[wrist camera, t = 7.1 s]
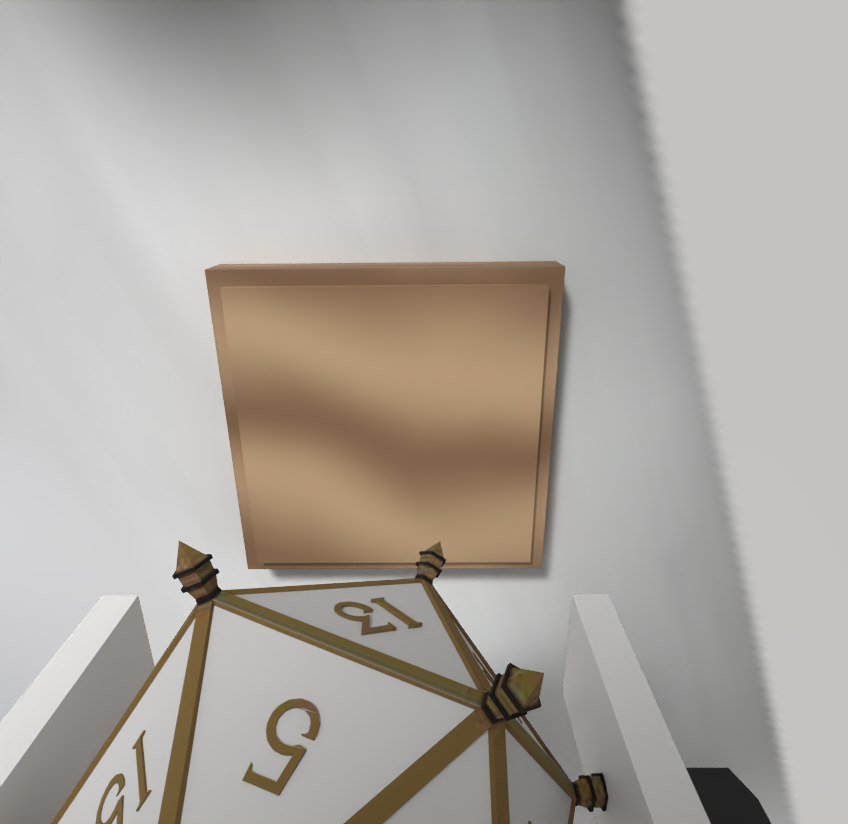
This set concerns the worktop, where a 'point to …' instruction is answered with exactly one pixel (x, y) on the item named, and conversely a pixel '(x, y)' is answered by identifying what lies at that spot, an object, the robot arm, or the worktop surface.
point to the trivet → (389, 409)
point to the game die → (327, 717)
